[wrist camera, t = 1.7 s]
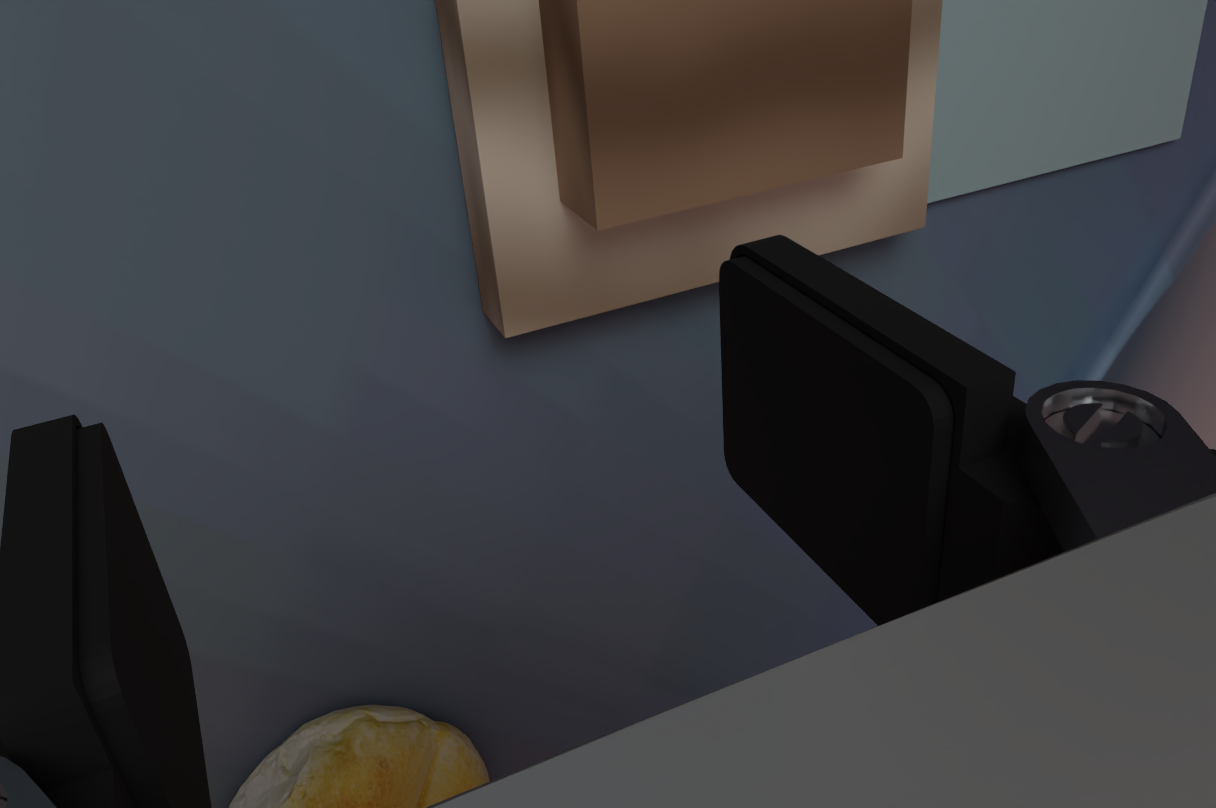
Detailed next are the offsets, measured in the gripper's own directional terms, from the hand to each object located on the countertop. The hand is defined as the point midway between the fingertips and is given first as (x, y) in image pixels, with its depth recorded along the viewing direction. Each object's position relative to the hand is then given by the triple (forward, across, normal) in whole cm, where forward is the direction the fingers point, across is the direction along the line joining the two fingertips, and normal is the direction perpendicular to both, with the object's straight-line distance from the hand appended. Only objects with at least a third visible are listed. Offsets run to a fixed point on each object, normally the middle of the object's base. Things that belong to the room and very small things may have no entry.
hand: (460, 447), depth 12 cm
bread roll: (+18, +2, +24) cm, 30 cm away
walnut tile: (+16, -12, 0) cm, 19 cm away
